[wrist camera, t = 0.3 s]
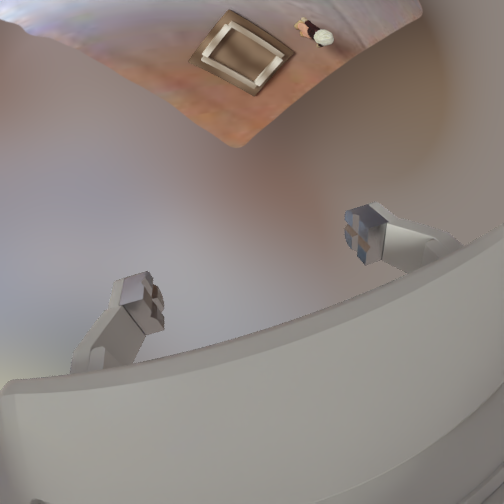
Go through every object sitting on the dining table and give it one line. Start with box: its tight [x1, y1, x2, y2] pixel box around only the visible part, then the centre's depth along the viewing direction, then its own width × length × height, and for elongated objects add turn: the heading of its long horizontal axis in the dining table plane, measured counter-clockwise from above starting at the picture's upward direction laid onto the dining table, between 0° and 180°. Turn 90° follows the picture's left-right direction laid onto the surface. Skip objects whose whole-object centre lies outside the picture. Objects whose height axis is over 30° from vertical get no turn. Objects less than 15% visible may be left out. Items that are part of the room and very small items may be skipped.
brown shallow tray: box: [188, 10, 294, 96], centre depth 44 cm, size 14×17×2 cm
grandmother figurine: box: [294, 17, 334, 48], centre depth 37 cm, size 8×4×13 cm, turn 45°
